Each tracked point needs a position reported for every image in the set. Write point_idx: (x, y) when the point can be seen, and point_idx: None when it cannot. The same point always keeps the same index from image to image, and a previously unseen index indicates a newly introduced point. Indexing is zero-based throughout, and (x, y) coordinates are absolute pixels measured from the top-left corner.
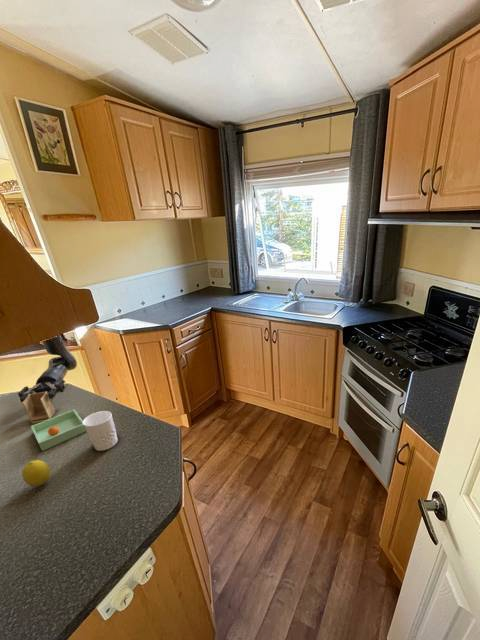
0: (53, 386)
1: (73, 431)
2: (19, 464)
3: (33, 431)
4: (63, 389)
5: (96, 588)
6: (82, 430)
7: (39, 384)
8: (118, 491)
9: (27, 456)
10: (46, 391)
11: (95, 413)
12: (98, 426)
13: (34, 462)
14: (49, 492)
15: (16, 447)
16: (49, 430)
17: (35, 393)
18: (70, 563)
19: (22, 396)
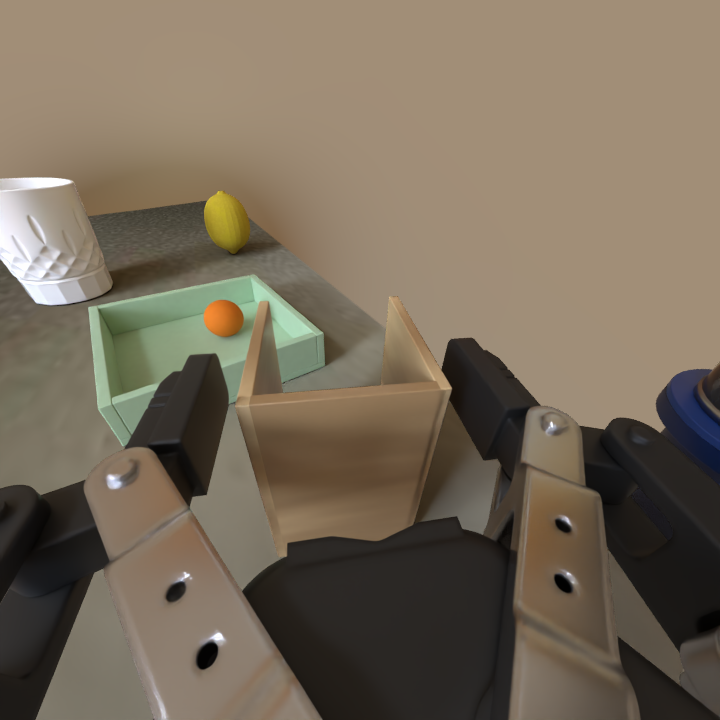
0: (123, 546)
1: (149, 307)
2: (302, 284)
3: (294, 309)
4: (4, 611)
5: (166, 206)
6: (121, 325)
7: (516, 684)
8: (111, 235)
9: (294, 296)
10: (243, 404)
11: (2, 193)
12: (38, 185)
13: (216, 194)
14: (218, 246)
15: (349, 323)
16: (230, 301)
17: (378, 391)
18: (187, 213)
19: (495, 364)
